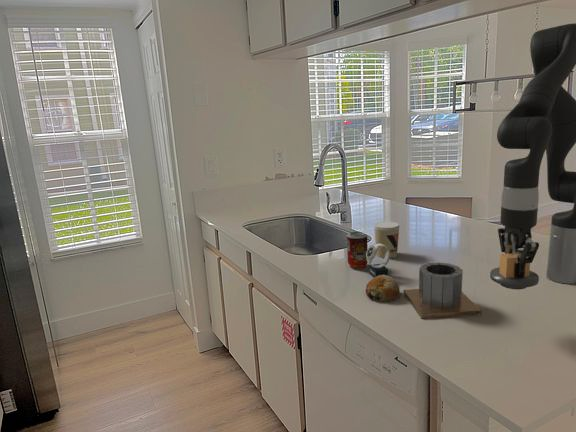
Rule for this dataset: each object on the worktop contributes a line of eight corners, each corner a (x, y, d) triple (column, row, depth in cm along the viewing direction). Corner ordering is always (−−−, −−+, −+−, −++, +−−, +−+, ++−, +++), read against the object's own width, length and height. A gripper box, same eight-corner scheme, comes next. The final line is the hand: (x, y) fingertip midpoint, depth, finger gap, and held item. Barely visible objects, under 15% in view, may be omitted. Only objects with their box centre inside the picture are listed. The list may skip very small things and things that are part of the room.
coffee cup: (391, 260, 156) (391, 229, 153) (369, 256, 162) (369, 225, 159) (403, 253, 162) (403, 223, 159) (382, 249, 168) (381, 220, 166)
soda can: (352, 271, 148) (352, 237, 145) (344, 264, 154) (343, 232, 152) (371, 268, 150) (370, 234, 147) (362, 261, 156) (361, 229, 153)
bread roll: (400, 311, 125) (411, 286, 124) (372, 303, 121) (382, 277, 120) (384, 298, 134) (393, 275, 133) (357, 290, 131) (366, 266, 130)
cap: (522, 274, 108) (524, 246, 107) (547, 291, 98) (550, 261, 97) (482, 277, 108) (483, 249, 106) (503, 295, 98) (505, 264, 96)
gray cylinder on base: (455, 289, 128) (457, 258, 126) (481, 314, 113) (483, 278, 110) (403, 293, 128) (403, 261, 126) (421, 318, 112) (421, 282, 110)
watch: (363, 274, 144) (363, 243, 142) (386, 271, 146) (385, 240, 143) (370, 280, 139) (369, 248, 136) (393, 277, 141) (393, 245, 138)
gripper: (554, 210, 92) (548, 284, 96) (518, 197, 105) (514, 263, 110) (520, 213, 92) (515, 287, 96) (488, 200, 105) (485, 265, 109)
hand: (514, 274), depth 103 cm, fingers closed on cap, 3 cm apart
